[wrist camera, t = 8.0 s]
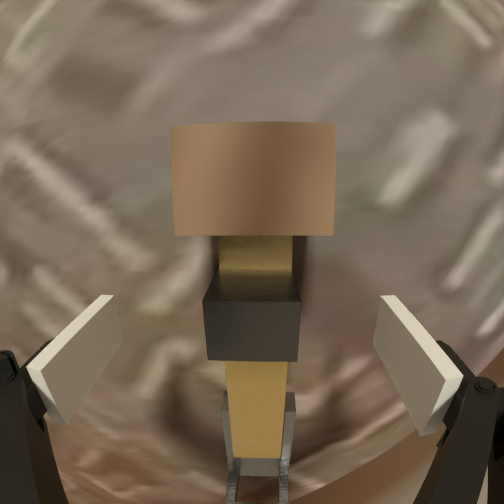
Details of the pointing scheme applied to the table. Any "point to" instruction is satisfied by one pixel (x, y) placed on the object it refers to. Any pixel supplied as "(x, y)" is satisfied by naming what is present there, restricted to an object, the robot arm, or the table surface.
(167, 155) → the table surface
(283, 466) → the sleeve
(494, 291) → the table surface
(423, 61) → the table surface
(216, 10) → the table surface
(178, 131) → the socket
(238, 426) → the tan wooden bar
